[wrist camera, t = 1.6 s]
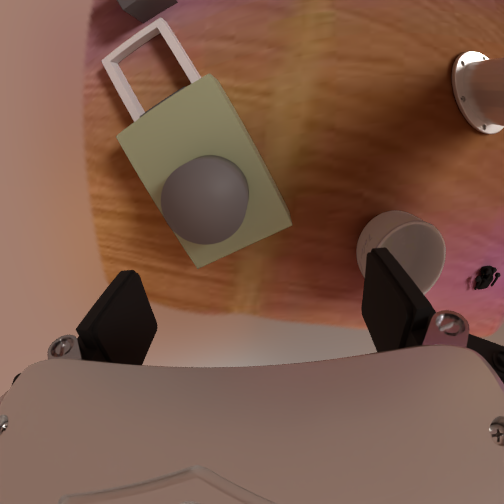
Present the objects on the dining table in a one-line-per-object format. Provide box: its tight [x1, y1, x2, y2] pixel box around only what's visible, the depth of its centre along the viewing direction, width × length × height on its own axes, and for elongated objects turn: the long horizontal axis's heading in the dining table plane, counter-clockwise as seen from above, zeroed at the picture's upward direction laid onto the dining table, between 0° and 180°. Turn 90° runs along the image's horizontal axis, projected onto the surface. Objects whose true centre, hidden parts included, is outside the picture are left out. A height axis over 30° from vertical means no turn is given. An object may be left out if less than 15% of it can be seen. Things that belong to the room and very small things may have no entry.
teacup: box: [356, 210, 446, 296], centre depth 32 cm, size 14×11×8 cm
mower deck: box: [101, 18, 292, 269], centre depth 26 cm, size 12×29×9 cm, turn 28°
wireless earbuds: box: [474, 266, 500, 290], centre depth 36 cm, size 7×2×5 cm
